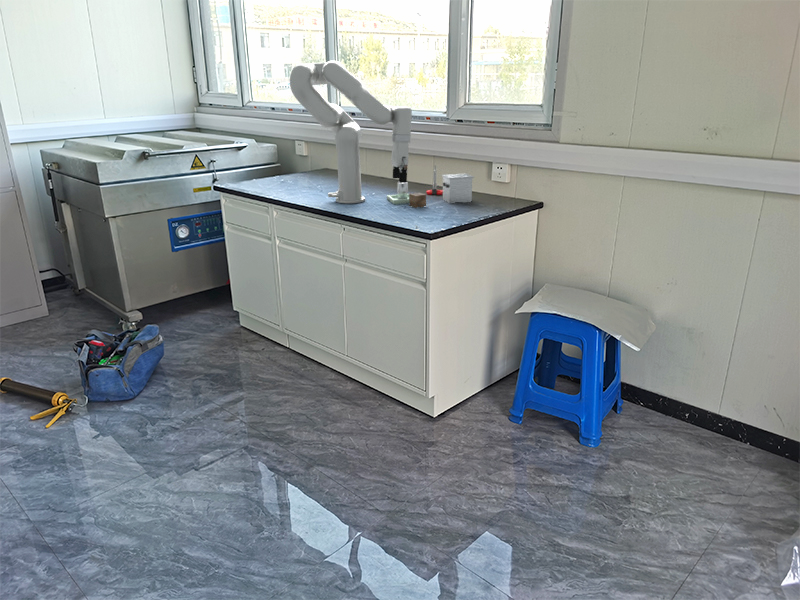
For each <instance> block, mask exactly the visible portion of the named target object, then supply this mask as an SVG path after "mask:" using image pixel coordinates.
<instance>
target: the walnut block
mask: <svg viewBox="0 0 800 600" xmlns="http://www.w3.org/2000/svg"><path fill="white" fill-rule="evenodd" d="M408 194H409V204H408V205H409V207H411V206H412V207H411V208H414V207H415V208H414V209H418V208H417V207H420V208H425V207H424V206H426V207H427V193H421V192H413V193H408Z"/></svg>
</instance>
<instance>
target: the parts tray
mask: <svg viewBox="0 0 800 600" xmlns="http://www.w3.org/2000/svg"><path fill="white" fill-rule="evenodd" d="M409 194H410V193H408V199H399V200H398V199H397V194H389V195H388V194H387V195H386V200H387V201H388V202H390V203H391V204H392V203H393V204H392V205H394V204H396V205H407V204H406V203H409Z"/></svg>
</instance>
